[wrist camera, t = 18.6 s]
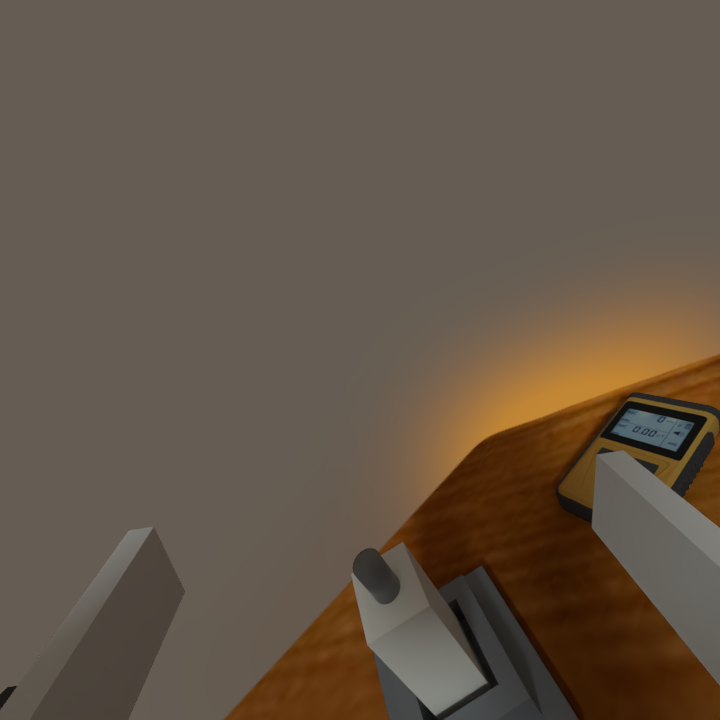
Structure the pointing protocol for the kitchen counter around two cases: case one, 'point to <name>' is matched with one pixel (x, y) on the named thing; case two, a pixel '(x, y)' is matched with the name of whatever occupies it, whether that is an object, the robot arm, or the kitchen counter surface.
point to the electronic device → (645, 446)
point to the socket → (487, 663)
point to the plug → (416, 631)
